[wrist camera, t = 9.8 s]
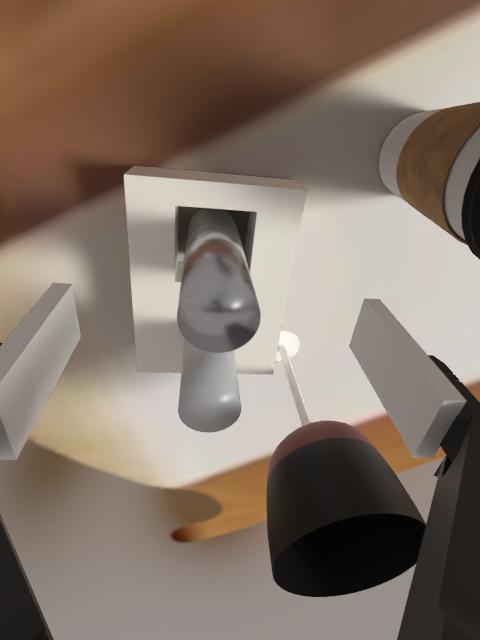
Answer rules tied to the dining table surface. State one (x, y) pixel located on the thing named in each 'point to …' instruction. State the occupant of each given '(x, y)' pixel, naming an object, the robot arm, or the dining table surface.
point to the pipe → (216, 286)
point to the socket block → (166, 274)
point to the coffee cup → (438, 168)
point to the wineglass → (335, 506)
